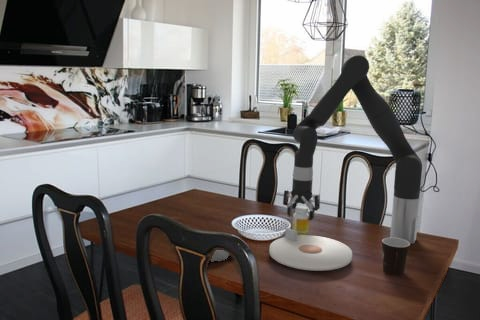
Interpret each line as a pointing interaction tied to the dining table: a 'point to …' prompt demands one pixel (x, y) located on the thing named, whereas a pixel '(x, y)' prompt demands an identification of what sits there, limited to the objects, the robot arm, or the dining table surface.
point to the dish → (219, 255)
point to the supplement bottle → (301, 220)
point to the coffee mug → (394, 255)
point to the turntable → (310, 252)
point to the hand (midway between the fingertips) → (300, 218)
